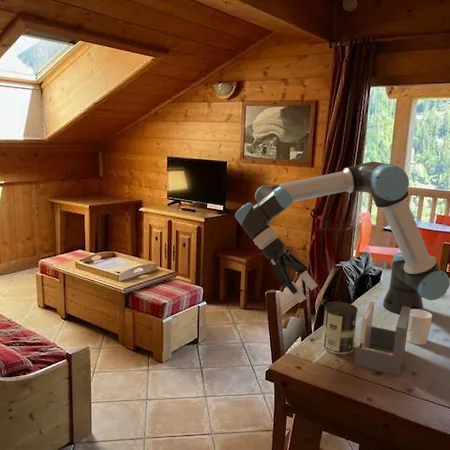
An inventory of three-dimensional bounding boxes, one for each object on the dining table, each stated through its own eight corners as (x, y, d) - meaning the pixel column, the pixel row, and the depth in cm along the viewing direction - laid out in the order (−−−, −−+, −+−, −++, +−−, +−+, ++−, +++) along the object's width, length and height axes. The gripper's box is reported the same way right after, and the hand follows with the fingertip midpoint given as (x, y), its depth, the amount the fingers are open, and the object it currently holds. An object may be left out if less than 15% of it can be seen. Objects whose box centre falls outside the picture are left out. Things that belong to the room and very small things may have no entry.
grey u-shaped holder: (404, 350, 150) (410, 307, 147) (399, 376, 134) (405, 329, 131) (364, 341, 155) (368, 299, 152) (354, 365, 139) (359, 319, 136)
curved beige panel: (370, 341, 153) (374, 301, 150) (360, 365, 137) (365, 322, 134) (366, 340, 154) (370, 301, 151) (356, 364, 138) (361, 321, 135)
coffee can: (352, 342, 154) (356, 303, 151) (354, 356, 145) (358, 315, 142) (321, 338, 156) (324, 299, 153) (321, 352, 146) (324, 311, 143)
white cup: (427, 337, 160) (431, 311, 158) (429, 347, 153) (433, 319, 150) (403, 333, 162) (406, 307, 160) (404, 343, 155) (407, 315, 153)
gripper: (274, 242, 167) (310, 288, 164) (247, 258, 145) (289, 312, 142) (289, 230, 164) (326, 277, 161) (263, 245, 142) (306, 300, 139)
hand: (309, 294), depth 151 cm, fingers open, 13 cm apart
